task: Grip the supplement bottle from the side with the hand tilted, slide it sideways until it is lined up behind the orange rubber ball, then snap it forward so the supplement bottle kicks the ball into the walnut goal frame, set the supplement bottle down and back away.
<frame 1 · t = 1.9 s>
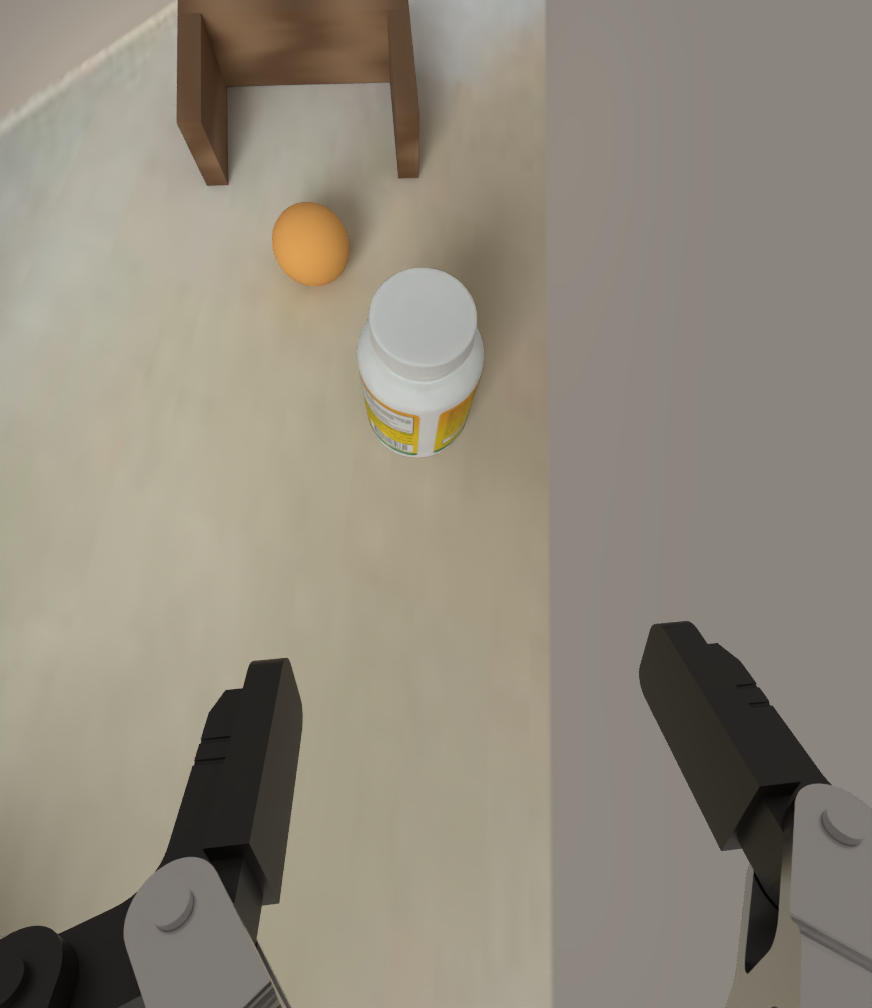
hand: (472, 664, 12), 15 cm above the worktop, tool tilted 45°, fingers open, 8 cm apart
ball: (311, 245, 28), point 2 cm above the worktop
supplement bottle: (418, 413, 28), on the worktop
goal: (311, 123, 32), on the worktop
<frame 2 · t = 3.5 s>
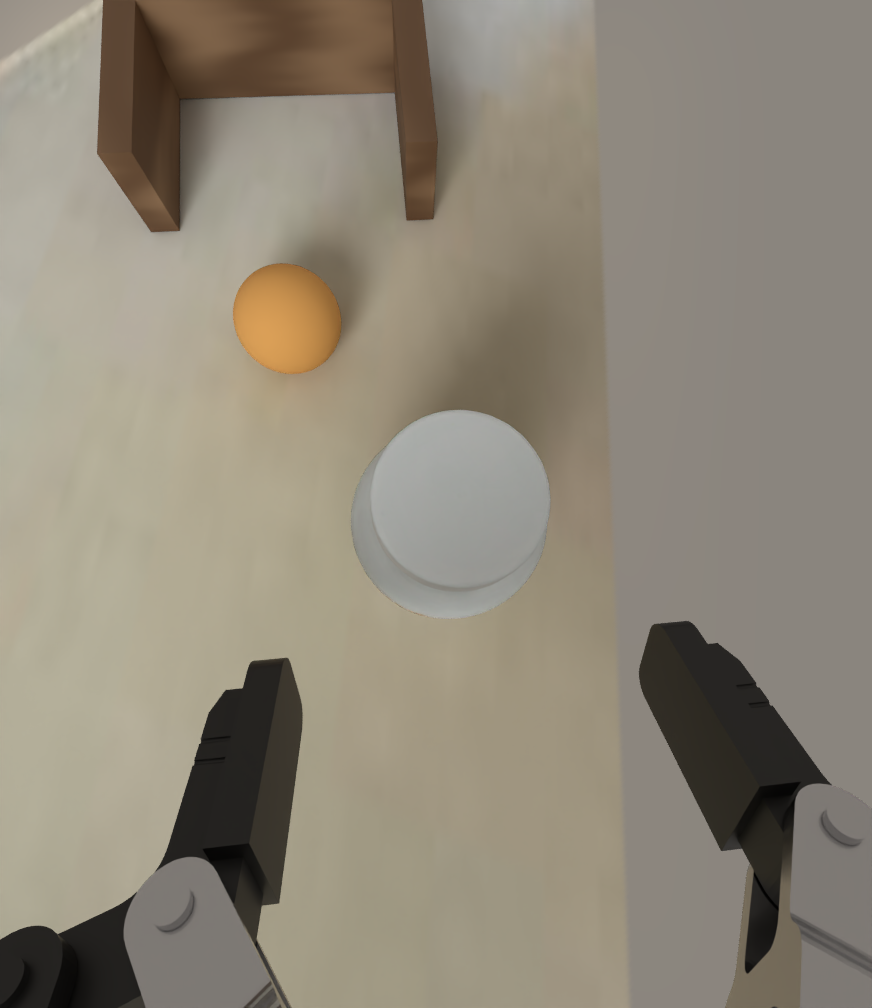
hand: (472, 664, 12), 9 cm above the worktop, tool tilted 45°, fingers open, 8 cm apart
ball: (288, 320, 20), point 2 cm above the worktop
supplement bottle: (436, 547, 21), on the worktop
goal: (291, 147, 24), on the worktop
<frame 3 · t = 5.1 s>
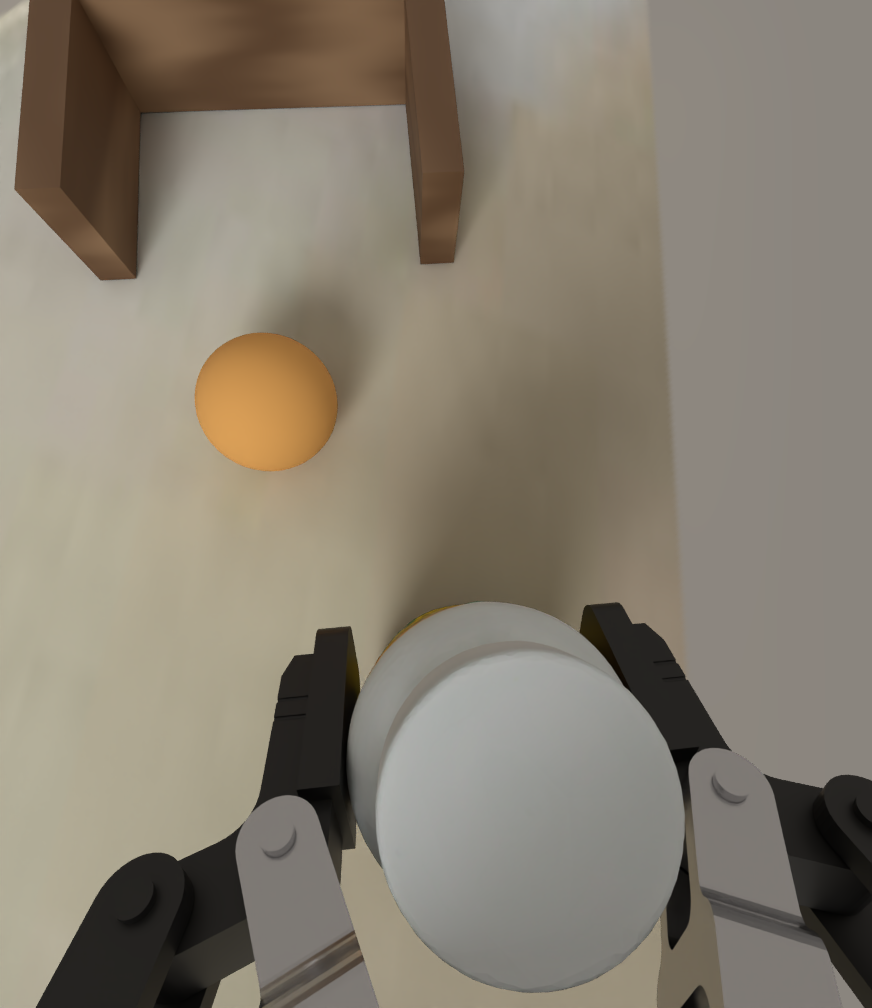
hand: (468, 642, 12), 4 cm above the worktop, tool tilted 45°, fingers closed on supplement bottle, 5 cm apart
ball: (268, 403, 15), point 2 cm above the worktop
supplement bottle: (459, 693, 16), on the worktop, touching gripper
goal: (277, 172, 19), on the worktop
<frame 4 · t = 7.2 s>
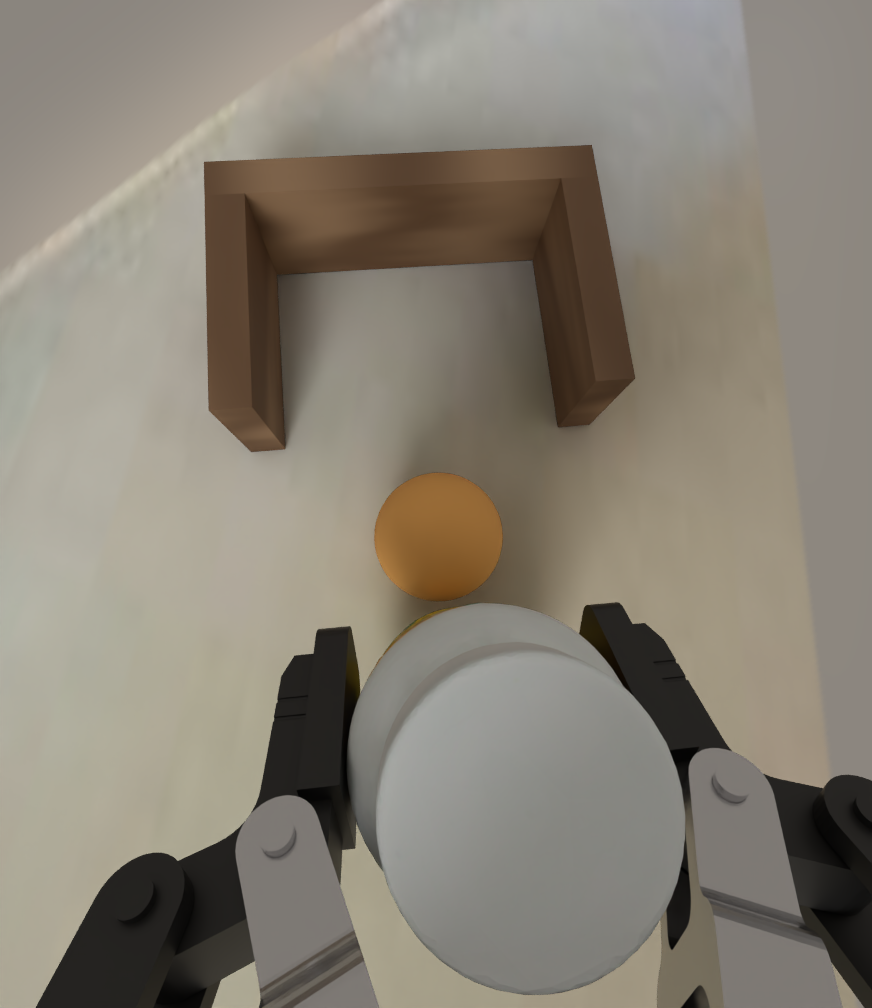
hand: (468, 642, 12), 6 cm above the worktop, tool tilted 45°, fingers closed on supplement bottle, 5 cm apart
ball: (438, 536, 16), point 2 cm above the worktop, tilted 15°
supplement bottle: (460, 695, 16), point 1 cm above the worktop, touching gripper
goal: (413, 335, 20), on the worktop
when the fingers open (5 cm above the worktop, at t = 9.3 s): supplement bottle stays where it is, on the worktop.
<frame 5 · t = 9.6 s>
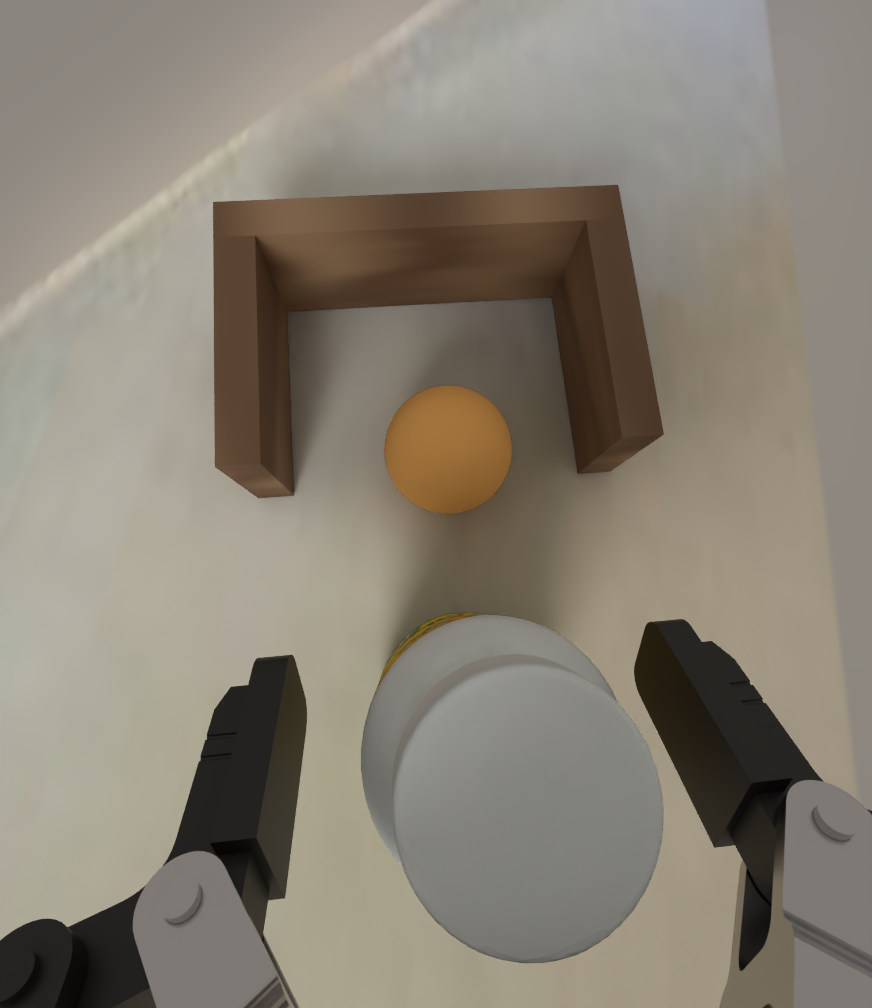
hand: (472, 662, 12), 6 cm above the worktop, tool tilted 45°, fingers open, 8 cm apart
ball: (448, 450, 16), point 2 cm above the worktop, tilted 152°
supplement bottle: (461, 695, 17), on the worktop
goal: (428, 375, 19), on the worktop
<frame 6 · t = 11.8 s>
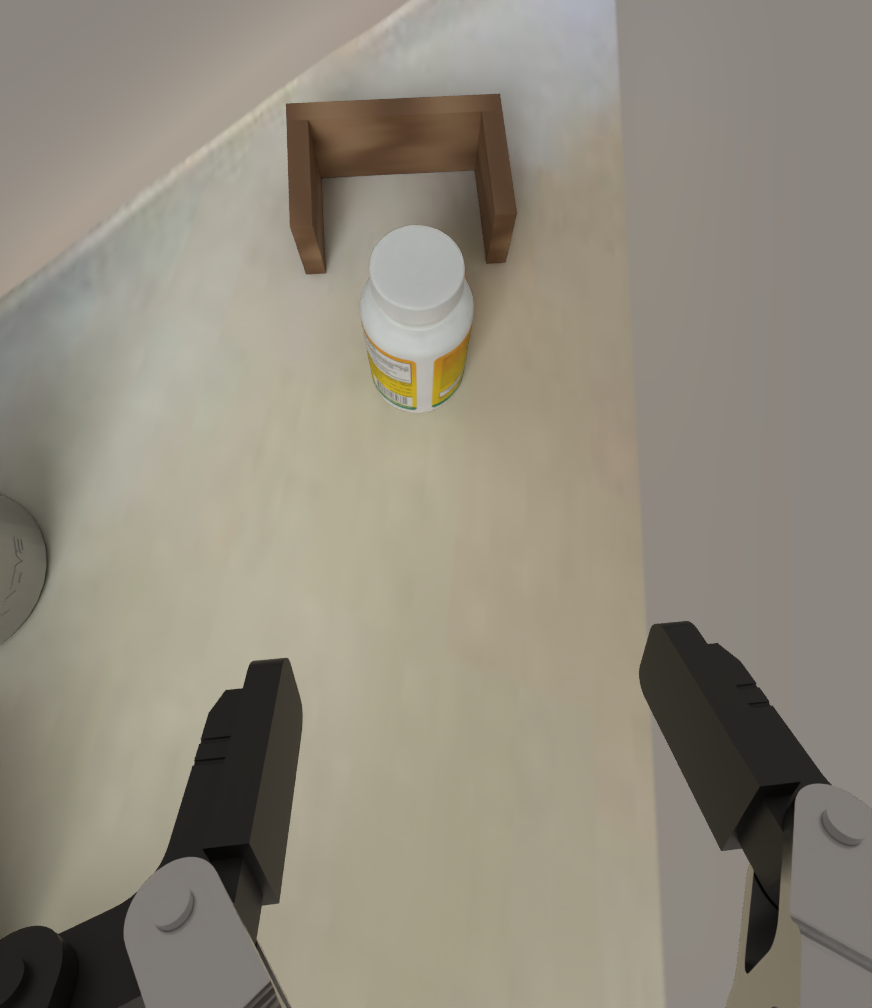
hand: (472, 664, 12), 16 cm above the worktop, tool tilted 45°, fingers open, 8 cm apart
supplement bottle: (418, 374, 31), on the worktop
goal: (401, 211, 33), on the worktop
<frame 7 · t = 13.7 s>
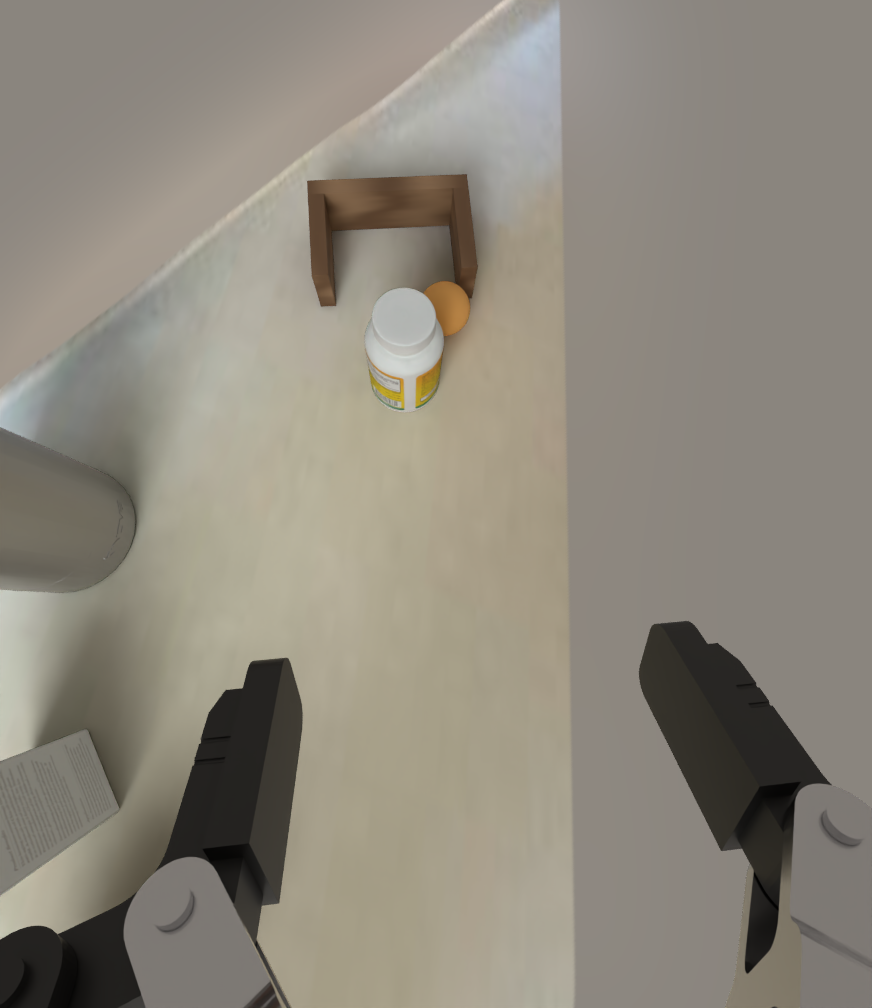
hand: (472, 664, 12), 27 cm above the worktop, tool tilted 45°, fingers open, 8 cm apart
skincare box: (77, 784, 35), on the worktop
ball: (444, 308, 41), point 2 cm above the worktop, tilted 95°
supplement bottle: (405, 383, 42), on the worktop
goal: (393, 258, 43), on the worktop
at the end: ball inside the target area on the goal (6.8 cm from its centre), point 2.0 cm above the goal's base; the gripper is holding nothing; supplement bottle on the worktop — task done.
